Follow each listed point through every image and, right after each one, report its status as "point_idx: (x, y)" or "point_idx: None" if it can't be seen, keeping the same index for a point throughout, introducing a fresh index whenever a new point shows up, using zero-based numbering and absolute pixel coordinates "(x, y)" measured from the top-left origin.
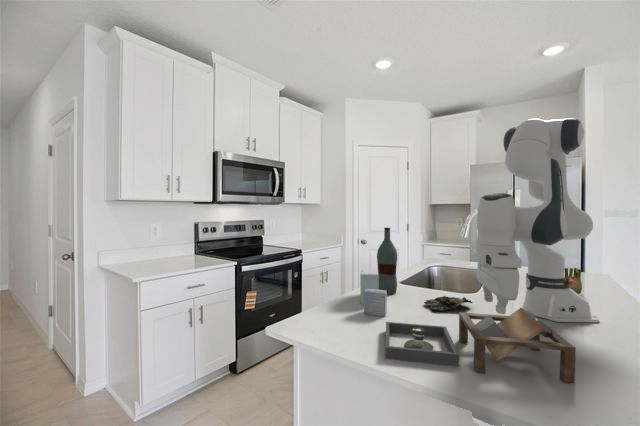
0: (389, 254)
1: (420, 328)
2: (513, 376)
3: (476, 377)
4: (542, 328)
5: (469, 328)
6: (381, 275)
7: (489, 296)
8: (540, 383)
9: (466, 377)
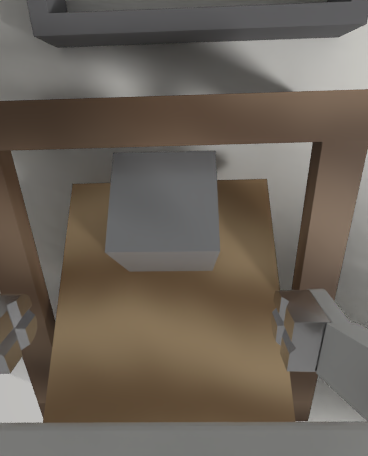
0: None
1: None
2: (65, 216)
3: (6, 100)
4: (47, 408)
5: (90, 98)
6: None
7: (291, 343)
8: (55, 269)
9: None
